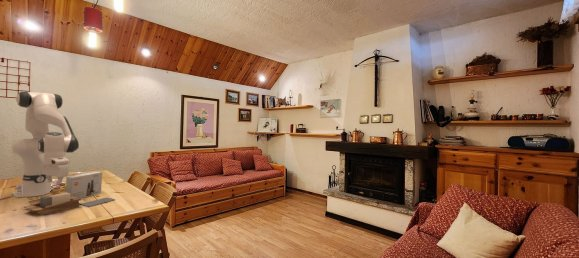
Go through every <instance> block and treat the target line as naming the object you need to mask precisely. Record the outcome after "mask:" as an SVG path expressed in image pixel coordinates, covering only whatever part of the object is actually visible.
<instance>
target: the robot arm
mask: <svg viewBox="0 0 579 258" xmlns="http://www.w3.org/2000/svg"><path fill="white" fill-rule="evenodd" d="M15 97H16V98H15V101H16V103H17V105H18V106H19V107H21V108H25V109H26V112H25V125H24V127H25V130H26V131H27V132H28V133H30V134H31V135H32V138H23V139H20V140H16V141H15V142H14V143H13V144H12V146H11V151H12V152H13V153H14V154H15V155H17V156H19V157H20V158H21V161H22V162H23V168H24V169H23V171H24V173H23V175H22V180H21V181H20V182H19V183H18V184H17V186H16V185H15V186H14V189H15V191H12V192H11V194H12V195H13V196H14V197H15V198H28V197H39V196H43V195H44V196H45V195H47V194H49V193H51V192H52V191H51V190H52V187H51V183H53V178H52V177H55V178H57V180H56V184H57V185H62V184H63V180H64V178H66V177H69V168H70V167H69V164H70V160H69V158H67V157H66V156H65V153H74V152H75V151H77V150H78V149H79V146H80V145H79V140H78V138H77V136H76V135H75V133H74V131H73V129H72V126H71V125H70V122H69V120H68V119H67V117H66V116H64V115H63V114H62V113H60V112H59V110H58V109H60V108H62V106H63V104H64V103H63V102H64V101H63V100H64V99H63V98H62V96H61V95H59V94H57V93H49V92H44V91H43V92H41V91H40V92H39V91H38V92H37V91H20V92H19V93H18V94H17V95H16V96H15ZM49 125H52V126H56V127H58V128H60V129H61V131H62V132H59V131H58V132H57V131H54V132H53V131H51V132H50V130H49ZM41 154H43V159H42V157H41ZM50 191H51V192H50Z"/></svg>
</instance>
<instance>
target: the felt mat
mask: <svg viewBox="0 0 579 258" xmlns="http://www.w3.org/2000/svg"><path fill="white" fill-rule="evenodd" d="M113 201H116V198H110V197H102V198H98V199H94V200H91V201H87V202H83V203H79V206H82V207H84V208H85V207H86V208H91V207H96V206H99V205H103V204H105V203H106V204H107V203H111V202H113Z"/></svg>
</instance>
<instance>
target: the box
mask: <svg viewBox="0 0 579 258" xmlns="http://www.w3.org/2000/svg"><path fill="white" fill-rule="evenodd" d="M39 199H40V208H45V207H46V206H50V205H55V204H59V203H63V202H68V201H70V193H66V191H65V192H61V193H57V194H51V195H44V196H41V197H39Z"/></svg>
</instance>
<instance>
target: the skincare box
mask: <svg viewBox="0 0 579 258" xmlns="http://www.w3.org/2000/svg"><path fill="white" fill-rule="evenodd" d="M65 178H66V180H65V181H66V183H65V192H66V193H70V197H72V196H73V197H77V198H82V199H84V198H88V197H89V198H90V197H92V196H95V195H99V194H102V183H103V182H102V181H103V180H102V179H103V172H102V171H93V172H86V173H81V174H75V175H71V176H70V175H68V176H66V177H65Z"/></svg>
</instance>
